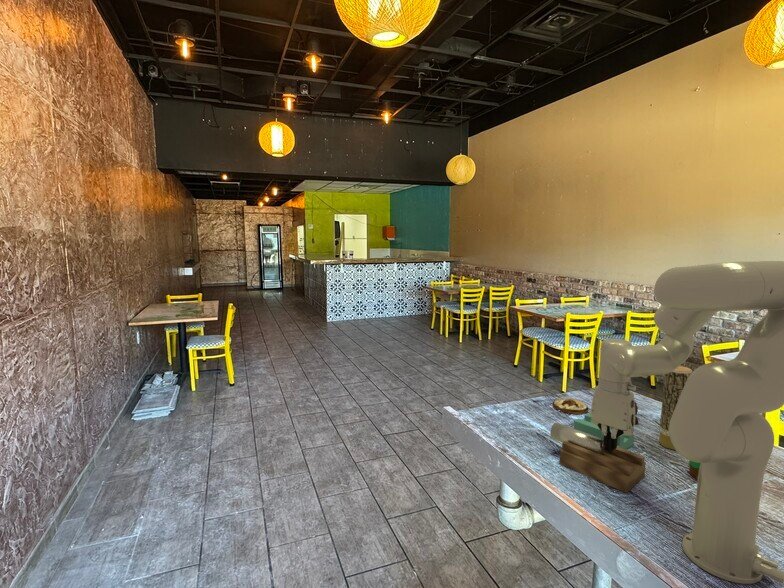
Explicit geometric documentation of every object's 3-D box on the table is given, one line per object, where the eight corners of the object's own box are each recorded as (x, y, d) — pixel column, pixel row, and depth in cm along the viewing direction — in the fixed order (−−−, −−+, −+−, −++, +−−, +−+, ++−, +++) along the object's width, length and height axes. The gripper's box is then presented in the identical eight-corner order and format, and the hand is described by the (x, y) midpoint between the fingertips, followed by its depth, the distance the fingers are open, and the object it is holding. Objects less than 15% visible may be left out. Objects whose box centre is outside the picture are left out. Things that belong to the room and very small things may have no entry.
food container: (685, 461, 119) (688, 428, 117) (712, 469, 115) (716, 435, 114) (682, 480, 109) (685, 445, 108) (711, 489, 105) (714, 452, 104)
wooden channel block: (644, 476, 111) (646, 455, 111) (626, 493, 104) (628, 470, 103) (579, 450, 125) (580, 431, 124) (559, 463, 118) (560, 444, 117)
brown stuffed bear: (606, 391, 157) (622, 410, 142) (627, 388, 155) (645, 407, 141) (610, 408, 158) (626, 428, 143) (630, 404, 157) (648, 425, 142)
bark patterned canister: (689, 452, 124) (696, 372, 121) (664, 450, 125) (671, 371, 122) (678, 441, 131) (685, 365, 127) (655, 439, 132) (661, 364, 129)
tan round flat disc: (586, 403, 163) (586, 393, 162) (595, 419, 148) (596, 408, 148) (546, 400, 166) (547, 390, 166) (552, 415, 152) (553, 404, 151)
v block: (633, 444, 129) (635, 426, 128) (617, 456, 121) (618, 437, 121) (589, 428, 140) (590, 412, 139) (571, 439, 132) (572, 421, 131)
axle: (605, 453, 115) (606, 436, 115) (597, 460, 112) (598, 443, 111) (559, 435, 126) (559, 420, 125) (550, 441, 123) (550, 425, 122)
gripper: (650, 389, 107) (645, 455, 109) (592, 375, 118) (589, 435, 120) (638, 396, 102) (633, 465, 104) (579, 380, 113) (576, 443, 116)
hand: (609, 449), depth 112 cm, fingers closed
